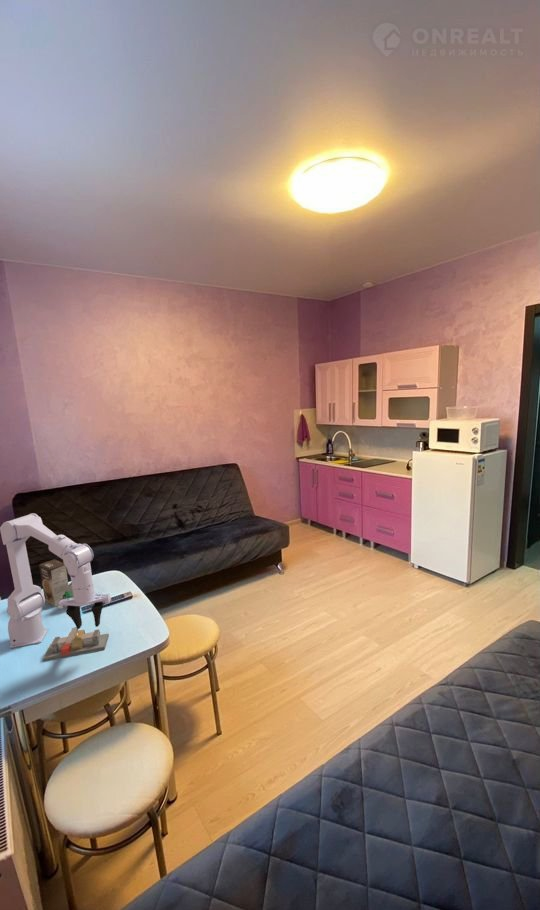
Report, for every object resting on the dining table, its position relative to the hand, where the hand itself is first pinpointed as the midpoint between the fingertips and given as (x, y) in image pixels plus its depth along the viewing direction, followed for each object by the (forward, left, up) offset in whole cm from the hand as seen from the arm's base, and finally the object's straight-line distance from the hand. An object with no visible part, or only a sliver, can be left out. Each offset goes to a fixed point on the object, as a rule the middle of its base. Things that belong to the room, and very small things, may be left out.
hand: (88, 625), depth 119 cm
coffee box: (-22, +42, -11) cm, 49 cm away
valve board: (-6, +6, -10) cm, 13 cm away
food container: (-11, +37, -11) cm, 40 cm away
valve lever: (-6, +1, -5) cm, 8 cm away
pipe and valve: (-6, +6, -10) cm, 13 cm away
